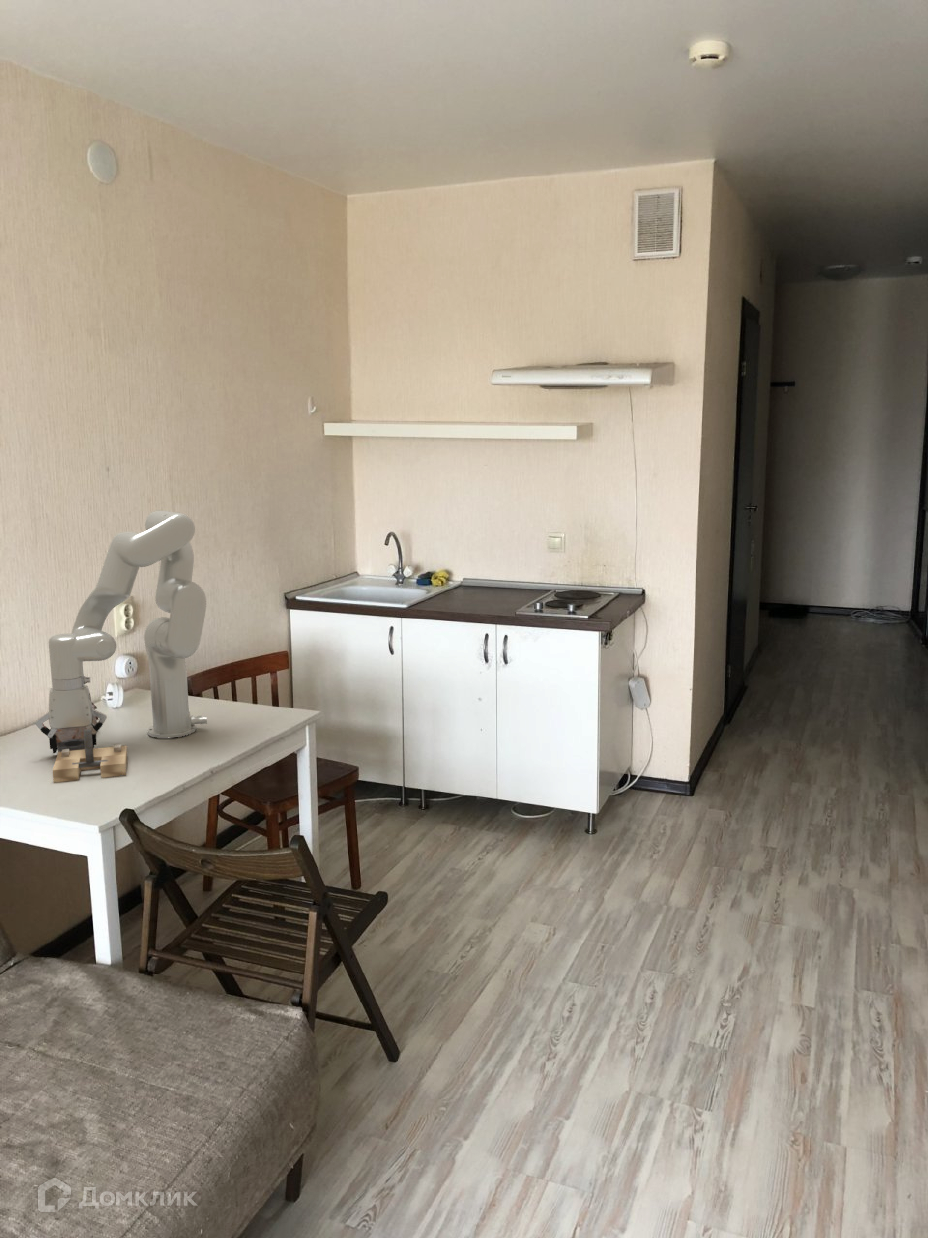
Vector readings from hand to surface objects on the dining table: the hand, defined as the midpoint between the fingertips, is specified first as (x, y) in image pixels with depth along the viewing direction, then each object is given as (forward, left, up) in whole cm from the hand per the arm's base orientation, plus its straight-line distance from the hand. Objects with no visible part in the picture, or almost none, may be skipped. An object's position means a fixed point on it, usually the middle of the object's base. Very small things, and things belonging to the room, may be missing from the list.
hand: (73, 749), depth 250 cm
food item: (+1, -14, -2) cm, 14 cm away
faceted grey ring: (0, 0, -1) cm, 1 cm away
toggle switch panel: (-5, +13, -1) cm, 14 cm away
